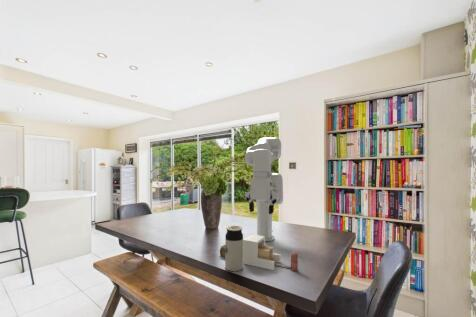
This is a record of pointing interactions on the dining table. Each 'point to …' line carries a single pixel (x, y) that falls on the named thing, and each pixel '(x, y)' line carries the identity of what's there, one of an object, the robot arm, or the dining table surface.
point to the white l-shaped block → (252, 253)
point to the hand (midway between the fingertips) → (261, 212)
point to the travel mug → (234, 248)
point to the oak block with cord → (267, 254)
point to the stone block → (222, 251)
